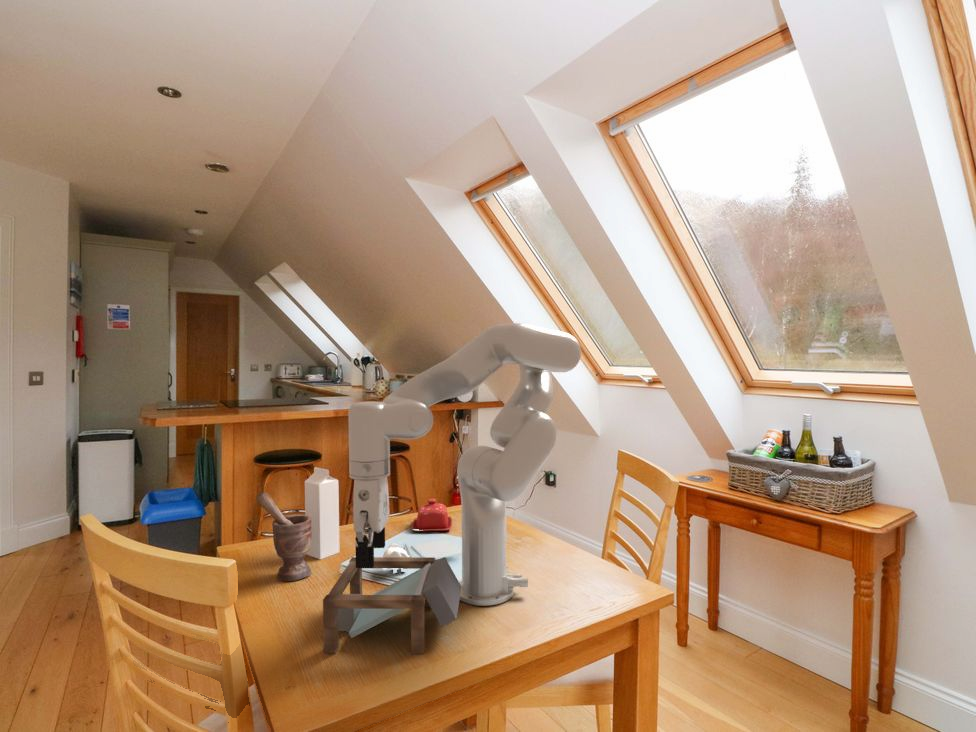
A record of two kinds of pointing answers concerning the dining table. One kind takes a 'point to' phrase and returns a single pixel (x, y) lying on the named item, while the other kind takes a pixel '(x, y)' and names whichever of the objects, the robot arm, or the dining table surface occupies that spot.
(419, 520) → the butter dish
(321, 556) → the milk
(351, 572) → the frame
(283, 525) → the mortar and pestle
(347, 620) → the gray cube
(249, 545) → the dining table surface
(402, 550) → the elephant figurine
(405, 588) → the trapdoor
